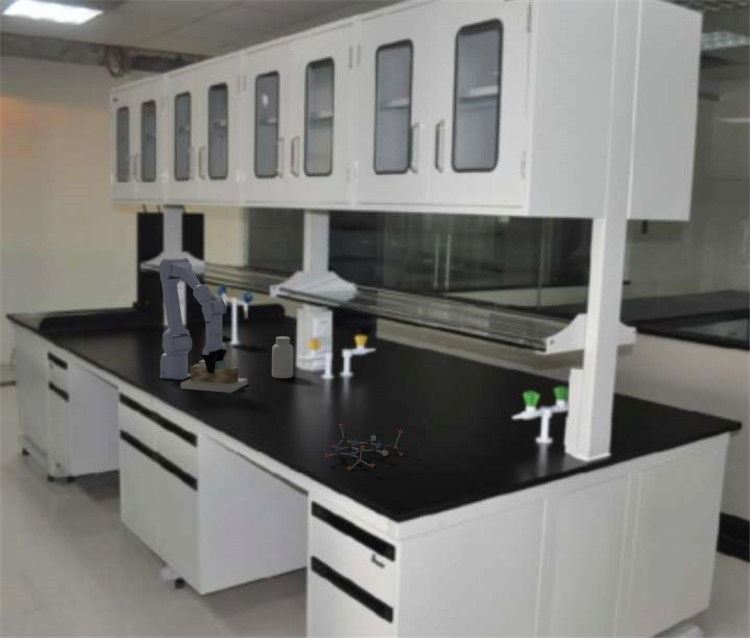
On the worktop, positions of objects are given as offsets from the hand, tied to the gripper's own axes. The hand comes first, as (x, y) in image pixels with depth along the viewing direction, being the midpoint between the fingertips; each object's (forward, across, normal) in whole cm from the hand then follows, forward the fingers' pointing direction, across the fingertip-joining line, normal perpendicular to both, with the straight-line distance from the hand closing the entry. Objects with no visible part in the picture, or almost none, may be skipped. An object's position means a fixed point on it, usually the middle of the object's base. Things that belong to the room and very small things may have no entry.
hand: (214, 371), depth 285 cm
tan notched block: (+3, 0, 0) cm, 3 cm away
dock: (+5, 0, 0) cm, 5 cm away
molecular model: (+6, -59, -69) cm, 91 cm away
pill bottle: (+6, +23, -17) cm, 29 cm away
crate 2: (-2, 0, -3) cm, 3 cm away
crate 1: (-2, 0, +3) cm, 3 cm away
